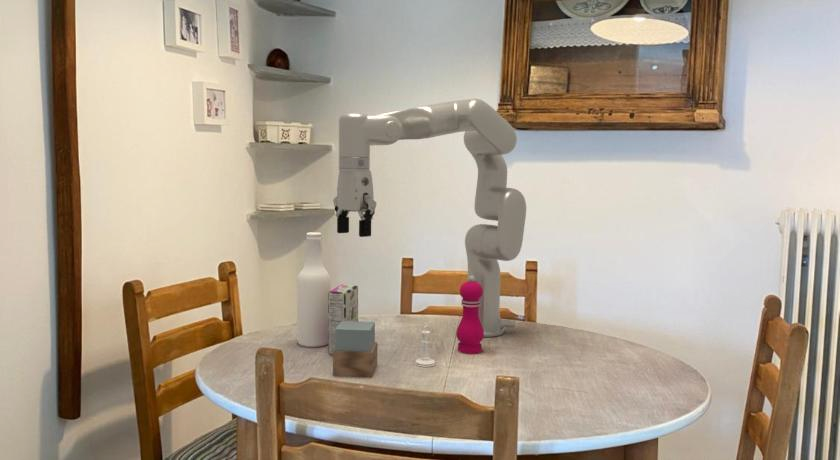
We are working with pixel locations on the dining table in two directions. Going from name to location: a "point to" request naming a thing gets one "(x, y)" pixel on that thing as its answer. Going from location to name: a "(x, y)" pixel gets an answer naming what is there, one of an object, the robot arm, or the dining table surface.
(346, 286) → the candy bar box
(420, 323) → the dining table surface
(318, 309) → the white bottle
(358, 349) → the slate top block
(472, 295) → the pepper mill
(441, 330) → the dining table surface
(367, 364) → the walnut base block
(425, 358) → the chess piece
